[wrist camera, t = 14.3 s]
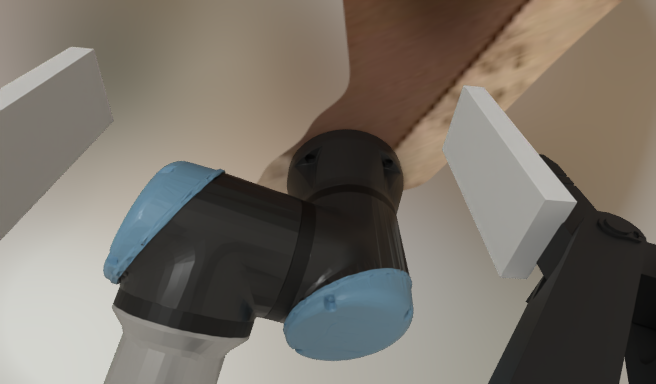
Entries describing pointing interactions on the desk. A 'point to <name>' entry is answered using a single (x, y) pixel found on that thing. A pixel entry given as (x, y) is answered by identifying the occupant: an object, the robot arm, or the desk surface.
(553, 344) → the robot arm
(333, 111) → the desk surface
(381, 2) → the desk surface
